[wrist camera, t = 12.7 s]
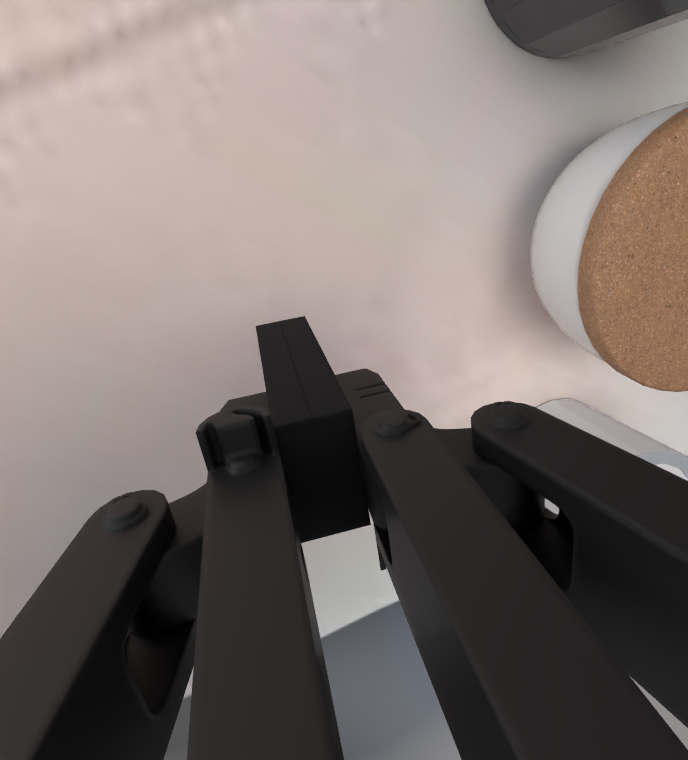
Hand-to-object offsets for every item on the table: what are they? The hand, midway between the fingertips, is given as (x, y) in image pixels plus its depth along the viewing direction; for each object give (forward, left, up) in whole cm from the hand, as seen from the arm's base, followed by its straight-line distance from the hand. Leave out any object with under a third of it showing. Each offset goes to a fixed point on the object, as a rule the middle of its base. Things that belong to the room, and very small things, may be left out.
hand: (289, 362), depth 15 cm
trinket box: (+16, 0, -9) cm, 18 cm away
